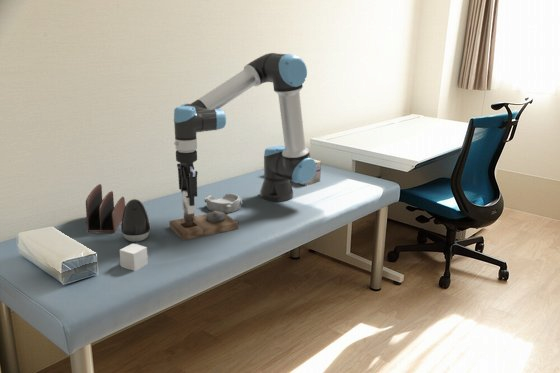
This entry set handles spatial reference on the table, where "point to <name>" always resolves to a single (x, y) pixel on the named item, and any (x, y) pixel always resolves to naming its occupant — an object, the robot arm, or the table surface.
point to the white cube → (133, 256)
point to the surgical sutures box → (317, 174)
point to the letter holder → (103, 212)
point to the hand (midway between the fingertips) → (188, 211)
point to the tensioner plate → (203, 225)
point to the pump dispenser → (135, 221)
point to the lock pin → (186, 216)
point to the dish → (224, 203)
